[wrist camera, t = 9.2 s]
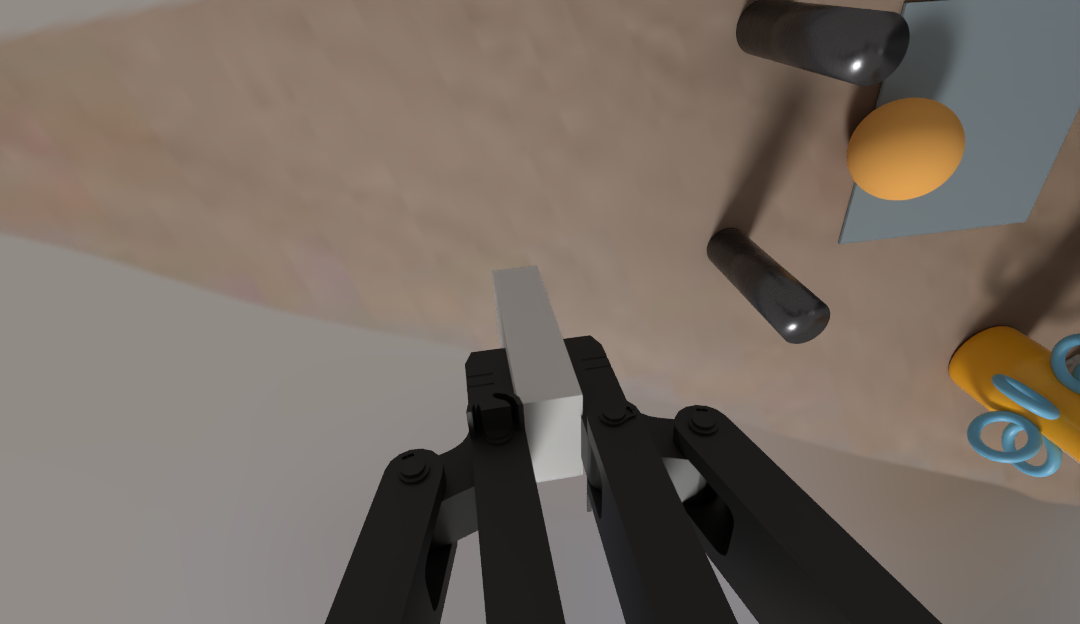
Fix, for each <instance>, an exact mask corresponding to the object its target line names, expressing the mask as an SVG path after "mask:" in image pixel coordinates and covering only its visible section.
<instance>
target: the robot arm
mask: <svg viewBox="0 0 1080 624" xmlns="http://www.w3.org/2000/svg"><path fill="white" fill-rule="evenodd" d="M492 275H493V285H494V295H495V304H496V314H497V324H498V334H499V341H500V347H501V349H493V350H486V351H478V352H471V354H470V356H469V358H468V360H467V362H466V363H465V369H466V380H467V392H468V406H467V412H466V414H467V420H468V426H469V433H468V435H467V437H466V438H465V439H464V441H463V442H462V443H461V444H460V445H458V446H457V447H455V448H453V449H452V450H450V451H448V452H445V453H443V454H441V455H437V454H436V453H434V452H433V451H431V450H425V449H414V450H409V451H407V452H404V453H402V454H399V455H398V456H397V457H396V458H394V459H393V460H392V461H390V463H389V465H388V466H387V468H386V469H385V471H384V474H383V476H382V479H381V482H380V484H379V487H378V489H377V492H376V494H375V497H374V499H373V502H372V504H371V507H370V510H369V512H368V515H367V517H366V520H365V522H364V525H363V527H362V530H361V533H360V535H359V538H358V541H357V543H356V546H355V548H354V550H353V553H352V556H351V558H350V561H349V563H348V566H347V569H346V571H345V574H344V576H343V579H342V581H341V584H340V587H339V589H338V591H337V594H336V597H335V599H334V602H333V604H332V607H331V609H330V612H329V615H328V617H327V620H326V622H325V624H440V621H441V617H442V612H443V608H444V603H445V598H446V594H447V589H448V585H449V580H450V576H451V571H452V567H453V562H454V557H455V553H456V548H457V540H459V539H461V538H463V537H465V536H467V535H469V534H471V533H473V532H476V531H477V530H478V531H479V544H480V555H481V567H482V577H483V589H484V600H485V612H486V623H487V624H565V620H564V614H563V610H562V605H561V600H560V595H559V590H558V585H557V580H556V576H555V571H554V567H553V561H552V557H551V552H550V547H549V542H548V537H547V532H546V527H545V523H544V518H543V513H542V508H541V504H540V499H539V494H538V489H537V484H536V483H537V482H543V481H549V480H555V479H561V478H567V477H573V476H579V475H583V465H584V468H585V472H586V475H587V512H590V511H592V510H593V513H594V517H595V520H596V523H597V527H598V530H599V534H600V537H601V540H602V544H603V547H604V551H605V554H606V558H607V561H608V564H609V567H610V571H611V575H612V578H613V581H614V585H615V588H616V592H617V595H618V598H619V602H620V605H621V609H622V612H623V616H624V619H625V622H626V624H738V623H737V620H736V618H735V616H734V614H733V612H732V610H731V607H730V605H729V603H728V601H727V599H726V597H725V594H724V592H723V590H722V588H721V586H720V584H719V582H718V579H717V577H716V575H715V573H714V571H713V569H712V566H711V564H710V562H709V560H708V558H707V556H708V557H709V558H710V559H711V561H712V562H713V563H714V565H715V566H716V567H717V569H718V570H719V571H720V573H721V574H722V575H723V577H724V578H725V579H726V581H727V582H728V583H729V584H730V586H731V587H732V588H733V590H734V591H735V592H736V594H737V595H738V596H739V598H740V599H741V600H742V602H743V603H744V604H745V605H746V607H747V608H748V609H749V611H750V612H751V613H752V615H753V616H754V617H755V619H756V620H757V621H758V622H759V624H942V623H941V622H940V621H939V620H938V619H937V618H936V617H934V616H933V615H932V614H931V613H930V612H929V611H928V610H927V609H926V608H925V607H924V606H923V605H922V604H921V603H920V602H919V601H918V600H917V599H916V598H915V597H914V596H913V595H912V594H911V593H910V592H909V591H907V590H906V589H905V588H904V587H903V586H902V585H901V584H900V583H899V582H898V581H897V580H896V579H895V578H894V577H893V576H892V575H891V574H890V573H889V572H888V571H887V570H886V569H885V568H884V567H882V566H881V565H880V564H879V563H878V562H877V561H876V560H875V559H874V558H873V557H872V556H871V555H870V554H869V553H868V552H867V551H866V550H865V549H864V548H863V547H862V546H861V545H859V544H858V543H857V542H856V541H855V540H854V539H853V538H852V537H851V536H850V535H849V534H848V533H847V532H846V531H845V530H844V529H843V528H842V527H841V526H840V525H839V524H838V523H837V522H836V521H835V520H834V519H832V518H831V517H830V516H829V515H828V514H827V513H826V512H825V511H824V510H823V509H822V508H821V507H820V506H819V505H818V504H817V503H816V502H815V501H814V500H813V499H812V498H811V497H810V496H809V495H808V494H806V492H804V491H803V490H802V489H801V488H800V487H799V486H798V485H797V484H796V483H795V482H794V481H793V480H792V479H791V478H790V477H789V476H788V475H787V474H786V473H785V472H784V471H783V470H781V468H779V467H778V466H777V465H776V464H775V463H774V462H773V461H772V460H771V459H770V458H769V457H768V456H767V455H766V454H765V453H764V452H763V451H762V450H761V449H760V448H759V447H758V446H757V445H756V444H755V443H753V442H752V441H751V440H750V439H749V438H748V437H747V436H746V435H745V434H744V433H743V432H742V431H741V430H740V429H739V428H738V427H737V426H736V425H735V424H734V423H733V422H732V421H731V420H730V419H729V418H727V417H726V416H725V415H724V414H722V413H721V412H720V411H718V410H716V409H714V408H711V407H708V406H700V405H694V406H689V407H685V408H684V409H682V410H680V411H679V412H678V413H677V415H676V417H675V419H666V418H657V417H651V416H647V415H645V414H642V413H640V411H639V410H638V409H637V408H636V406H635V405H633V404H631V403H630V402H628V401H627V400H626V398H625V396H624V393H623V391H622V389H621V387H620V385H619V382H618V380H617V378H616V376H615V373H614V371H613V369H612V367H611V364H610V362H609V360H608V358H607V356H606V353H605V351H604V349H603V347H602V345H601V344H600V343H599V342H598V341H597V340H595V339H594V338H593V337H592V336H590V335H589V336H582V337H574V338H567V339H563V338H562V335H561V332H560V329H559V326H558V324H557V321H556V318H555V315H554V312H553V309H552V307H551V304H550V301H549V298H548V295H547V292H546V290H545V287H544V284H543V281H542V278H541V275H540V273H539V270H538V267H537V266H529V267H521V268H512V269H504V270H495V271H492ZM591 509H592V510H591ZM706 554H707V556H706Z"/></svg>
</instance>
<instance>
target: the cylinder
mask: <svg viewBox="0 0 1080 624" xmlns="http://www.w3.org/2000/svg"><path fill="white" fill-rule="evenodd" d="M1077 345H1080V334H1073V335H1070V336H1067V337H1065V338H1063V339H1062V340H1060V341H1059V342H1058V343H1057V344H1056V345H1055V347H1054V348H1053V351H1052V352H1051V351H1050V350H1048V349H1047V348H1045V347H1043V346H1042V345H1040V344H1039V343H1037V342H1035V341H1034V340H1032V339H1031V338H1029V337H1027V336H1026V335H1024V334H1023V333H1021V332H1019V331H1018V330H1016V329H1014V328H1012V327H1007V326H996V327H991V328H989V329H986V330H983V331H982V332H979V333H977V334H976V335H974V336H973V337H971V338H970V339H969V340H967V341H966V342H965V343H964V344H963V345H962V346H961V347H960V348H959V349H958V350H957V352H956V353H955V354H954V356H953V358H952V359H951V362H950V364H949V369H948V370H949V375H950V377H951V379H952V381H953V382H954V383H956V384H957V385H958V386H959V387H960V388H962V389H963V390H964V391H965V392H967V393H968V394H969V395H970V396H972V397H973V398H974V399H975V400H977V401H978V402H979V403H980V404H982V405H983V406H984V407H985V408H987V409H988V410H989V411H991V412H987V413H984V414H982V415H980V416H978V417H976V418H975V419H974V420H973V421H972V422H971V423H970V425H969V427H968V430H967V437H968V441H969V443H970V445H971V446H972V448H973V449H974V450H975V451H976V452H978V453H979V454H980V455H982V456H983V457H985V458H988V459H990V460H993V461H996V462H1002V463H1012V464H1013V465H1014V466H1015V467H1016V468H1017V469H1019V470H1020V471H1022V472H1023V473H1025V474H1028V475H1031V476H1035V477H1045V476H1049V475H1051V474H1053V473H1054V472H1056V471H1057V469H1058V468H1059V466H1060V464H1061V461H1062V452H1061V449H1062V450H1063V451H1065V452H1066V453H1067V454H1068V455H1070V456H1071V457H1072V458H1074V459H1075V460H1076V461H1078V462H1079V463H1080V363H1079V364H1078V365H1077V366H1076V367H1075V368H1074V370H1073V372H1072V375H1071V373H1070V371H1069V369H1068V367H1067V365H1066V363H1065V359H1066V355H1067V353H1068V351H1069V350H1070V349H1071V348H1072V347H1074V346H1077ZM996 421H1007V422H1011V423H1010V424H1008V425H1007V426H1006V428H1005V429H1004V431H1003V434H1002V447H1003V450H1004V452H1001V451H996V450H993V449H991V448H989V447H988V446H986V445H985V444H984V443H983V442H982V440H981V438H980V432H981V430H982V428H983V427H984V426H986V425H987V424H989V423H992V422H996ZM1021 430H1025V431H1026V433H1027V435H1028V442H1027V444H1026V445H1025V446H1024V447H1023V448H1021V449H1019V450H1017V451H1016V448H1015V444H1014V439H1015V436H1016V434H1017V433H1018V432H1019V431H1021ZM1042 442H1044V444H1045V446H1046V449H1047V460H1046V462H1045V463H1044V464H1043V465H1041V466H1033V465H1030V464H1028V463H1027V462H1025V460H1028V459H1030V458H1032V457H1033V456H1035V455H1036V454H1037V453H1038V452H1039V450H1040V449H1041V446H1042Z"/></svg>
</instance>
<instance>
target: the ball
mask: <svg viewBox="0 0 1080 624" xmlns="http://www.w3.org/2000/svg"><path fill="white" fill-rule="evenodd" d="M964 149H965V133H964V129H963V126H962V124H961V122H960V120H959V118H958V117H957V116H956V114H955V113H954V112H953V111H952V110H951V109H949V108H948V107H947V106H945V105H943V104H942V103H940V102H937V101H934V100H932V99H927V98H917V97H913V98H903V99H898V100H895V101H892V102H889V103H887V104H884V105H882V106H881V107H879V108H877V109H876V110H874V111H872V112H871V113H870V114H869V115H867V116H866V117H865V118H864V119H863V120H862V121H861V123H860V124H859V125H858V126H857V128H856V129H855V131H854V133H853V134H852V136H851V139H850V141H849V144H848V149H847V165H848V169H849V172H850V174H851V176H852V178H853V180H854V181H855V182H856V184H857V185H858V186H859V187H860V188H861V189H863V190H864V191H865V192H867V193H869V194H871V195H873V196H875V197H878V198H881V199H886V200H908V199H913V198H917V197H920V196H923V195H925V194H927V193H929V192H931V191H933V190H935V189H936V188H938V187H939V186H941V185H942V184H943V183H944V182H945V181H947V180H948V179H949V177H950V176H951V175H952V174H953V173H954V171H955V170H956V168H957V167H958V165H959V164H960V161H961V159H962V157H963V153H964Z"/></svg>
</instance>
